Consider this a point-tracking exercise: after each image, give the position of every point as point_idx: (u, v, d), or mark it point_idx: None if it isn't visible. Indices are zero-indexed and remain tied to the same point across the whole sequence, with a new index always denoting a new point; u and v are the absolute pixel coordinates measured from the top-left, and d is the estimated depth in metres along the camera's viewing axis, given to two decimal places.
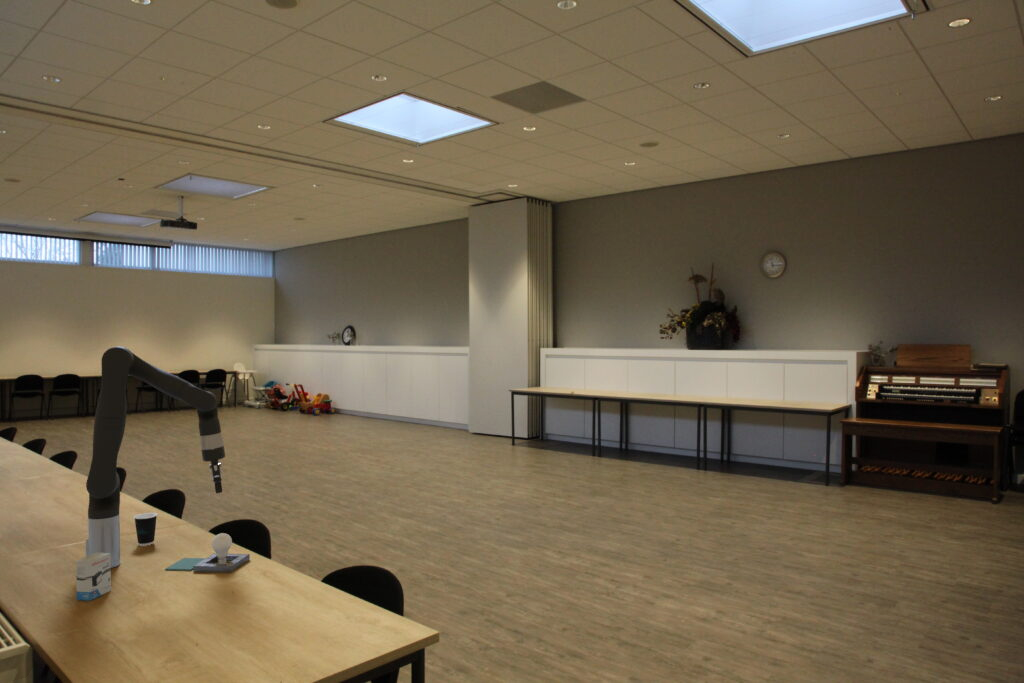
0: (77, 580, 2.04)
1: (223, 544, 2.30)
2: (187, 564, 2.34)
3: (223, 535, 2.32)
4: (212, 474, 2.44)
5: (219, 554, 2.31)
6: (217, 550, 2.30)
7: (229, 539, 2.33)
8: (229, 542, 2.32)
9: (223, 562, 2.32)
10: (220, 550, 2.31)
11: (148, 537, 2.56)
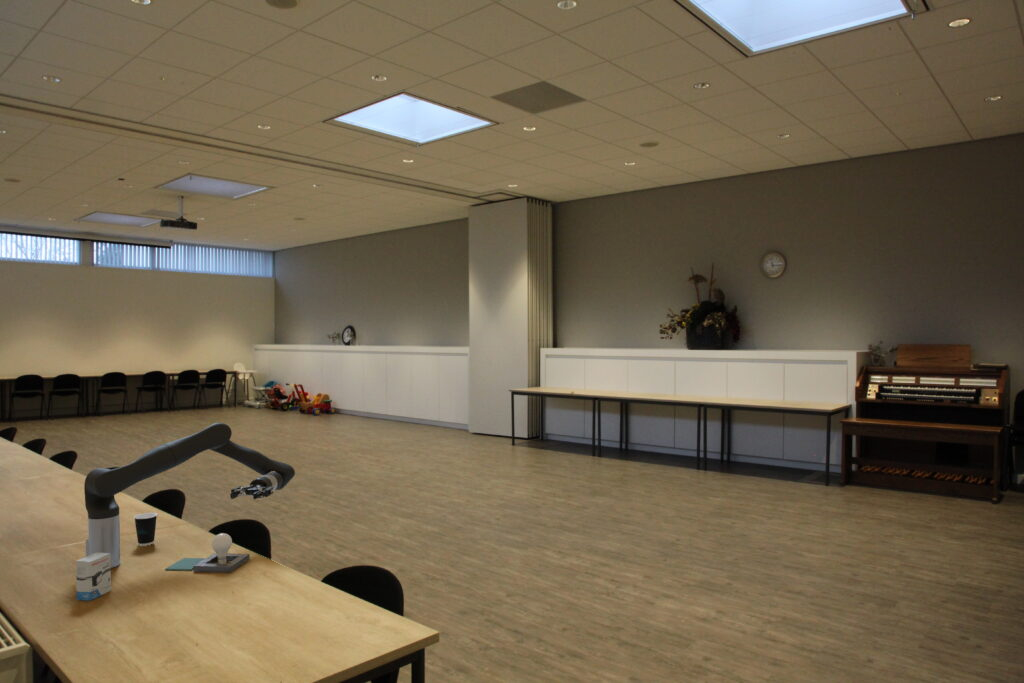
0: (77, 580, 2.04)
1: (223, 544, 2.30)
2: (187, 564, 2.34)
3: (223, 535, 2.32)
4: (261, 488, 2.54)
5: (219, 554, 2.31)
6: (217, 550, 2.30)
7: (229, 539, 2.33)
8: (229, 542, 2.32)
9: (223, 562, 2.32)
10: (220, 550, 2.31)
11: (148, 537, 2.56)
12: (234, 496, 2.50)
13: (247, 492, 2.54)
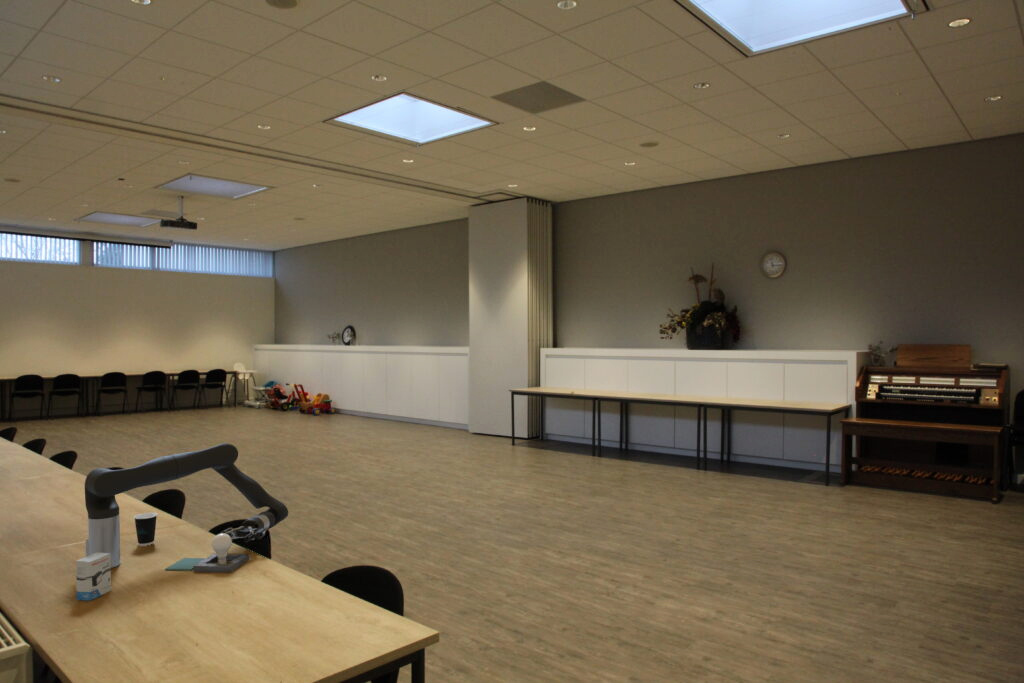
0: (77, 580, 2.04)
1: (223, 544, 2.30)
2: (187, 564, 2.34)
3: (223, 535, 2.32)
4: (252, 530, 2.48)
5: (219, 554, 2.31)
6: (217, 550, 2.30)
7: (229, 539, 2.33)
8: (229, 542, 2.32)
9: (223, 562, 2.32)
10: (220, 550, 2.31)
11: (148, 537, 2.56)
12: None
13: (238, 534, 2.48)
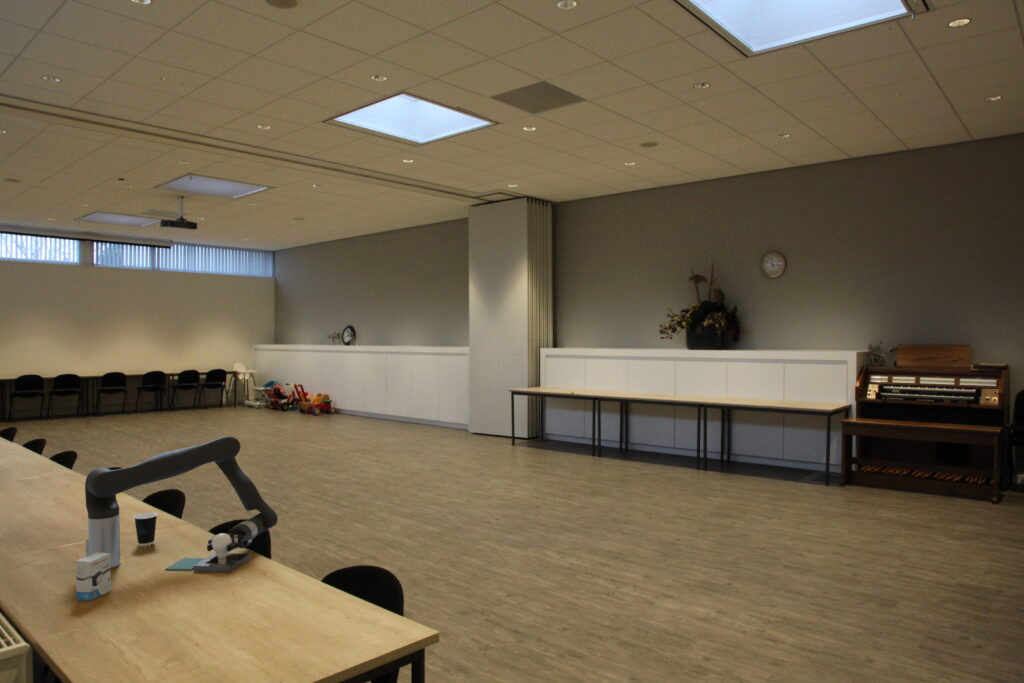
0: (77, 580, 2.04)
1: (223, 544, 2.30)
2: (187, 564, 2.34)
3: (223, 535, 2.32)
4: (237, 538, 2.37)
5: (219, 554, 2.31)
6: (217, 550, 2.30)
7: (229, 539, 2.33)
8: (229, 542, 2.32)
9: (223, 562, 2.32)
10: (220, 550, 2.31)
11: (148, 537, 2.56)
12: (211, 548, 2.32)
13: None
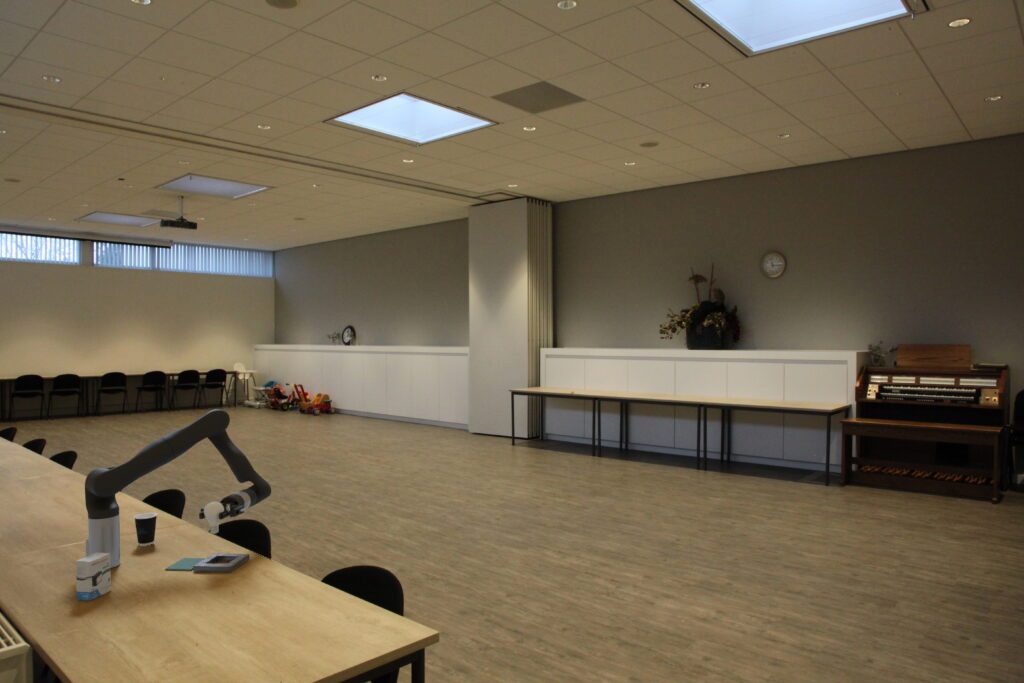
0: (77, 580, 2.04)
1: (215, 512, 2.30)
2: (187, 564, 2.34)
3: (215, 503, 2.32)
4: (230, 507, 2.37)
5: (211, 522, 2.31)
6: (209, 518, 2.30)
7: (221, 507, 2.32)
8: (221, 510, 2.32)
9: (215, 530, 2.32)
10: (212, 518, 2.30)
11: (148, 537, 2.56)
12: (203, 516, 2.32)
13: None
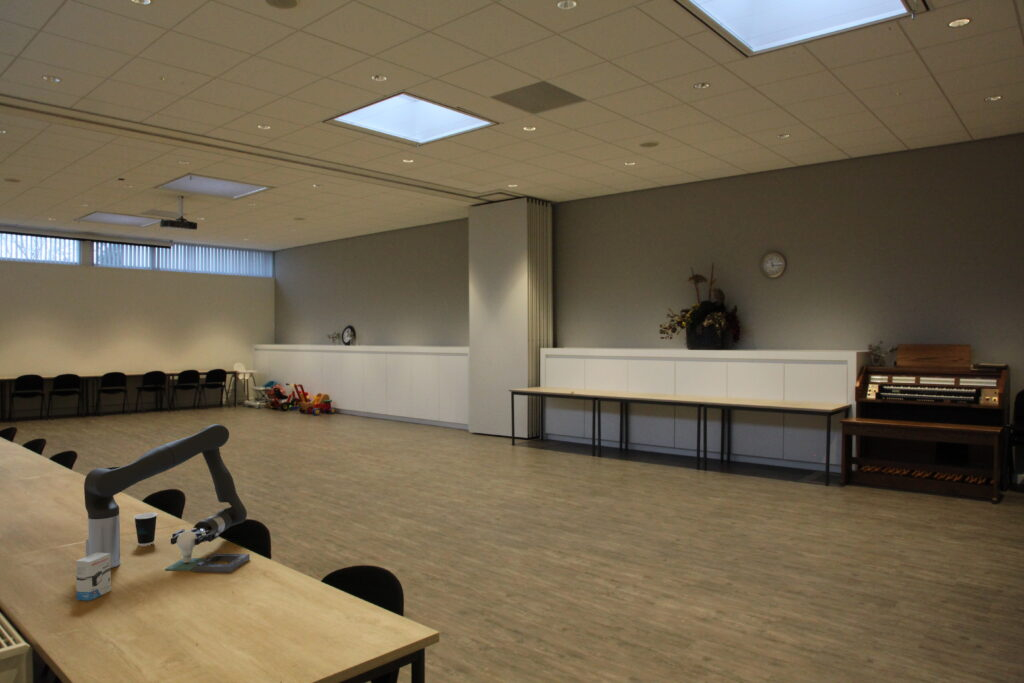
0: (77, 580, 2.04)
1: (188, 542, 2.32)
2: (187, 564, 2.34)
3: (188, 533, 2.33)
4: (204, 532, 2.39)
5: (184, 552, 2.33)
6: (182, 548, 2.32)
7: (194, 537, 2.34)
8: (194, 540, 2.33)
9: (188, 560, 2.34)
10: (185, 548, 2.32)
11: (148, 537, 2.56)
12: (175, 541, 2.34)
13: None
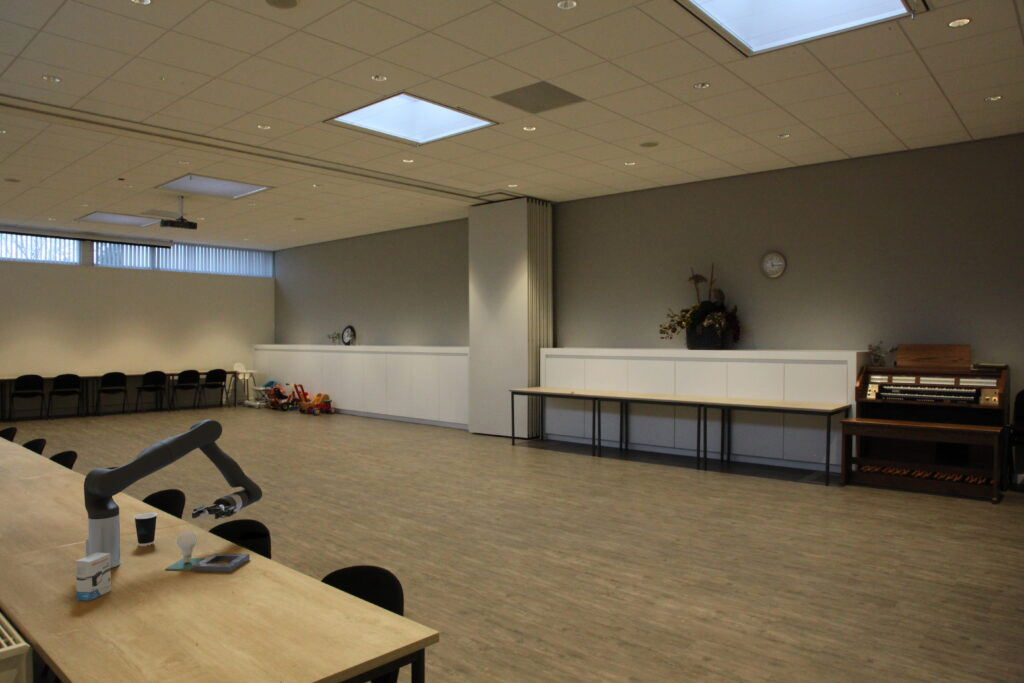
0: (77, 580, 2.04)
1: (188, 542, 2.32)
2: (187, 564, 2.34)
3: (188, 533, 2.33)
4: (224, 507, 2.52)
5: (184, 551, 2.33)
6: (182, 548, 2.32)
7: (194, 537, 2.34)
8: (194, 540, 2.33)
9: (188, 560, 2.34)
10: (185, 548, 2.32)
11: (148, 537, 2.56)
12: (196, 515, 2.47)
13: (210, 511, 2.52)
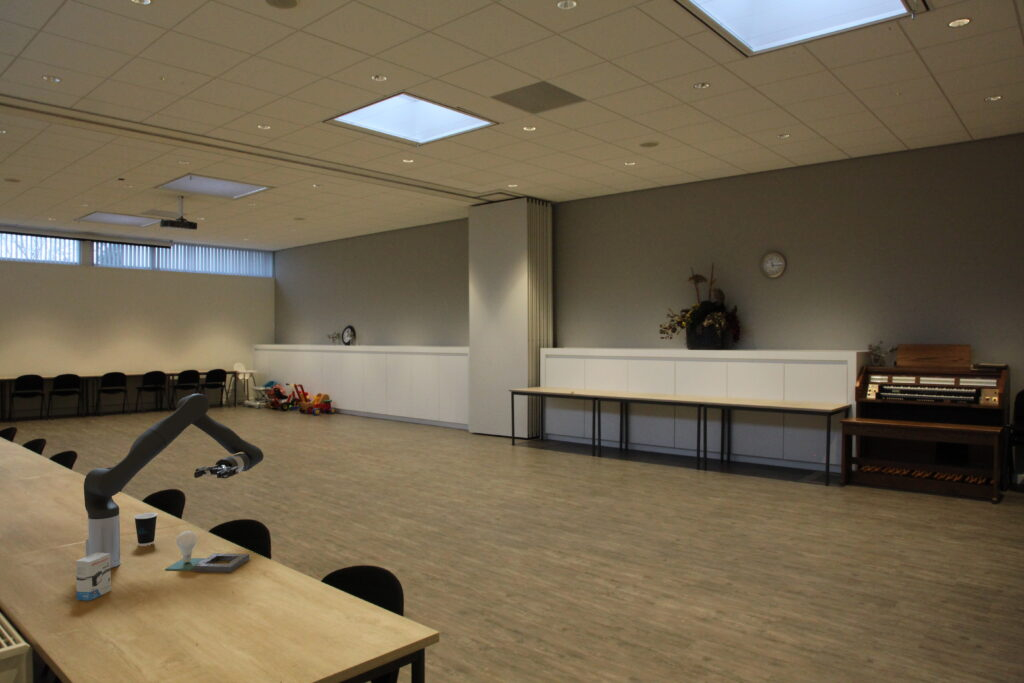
0: (77, 580, 2.04)
1: (188, 541, 2.32)
2: (187, 564, 2.34)
3: (188, 533, 2.34)
4: (226, 468, 2.53)
5: (184, 551, 2.33)
6: (182, 547, 2.32)
7: (194, 536, 2.34)
8: (194, 539, 2.33)
9: (188, 559, 2.34)
10: (185, 548, 2.32)
11: (148, 537, 2.56)
12: (198, 475, 2.49)
13: (212, 472, 2.53)
